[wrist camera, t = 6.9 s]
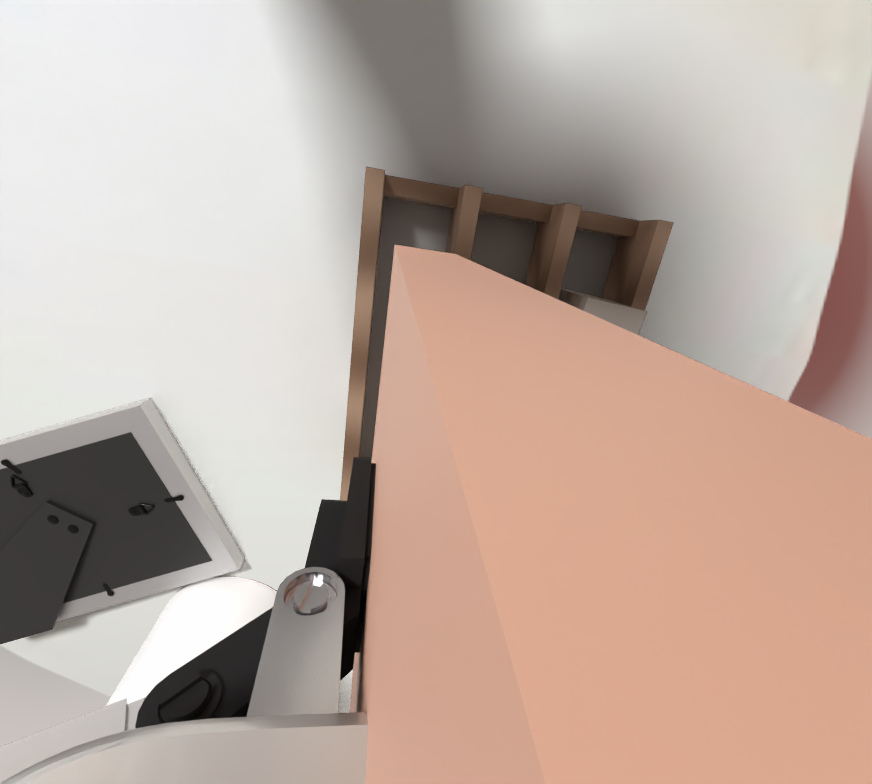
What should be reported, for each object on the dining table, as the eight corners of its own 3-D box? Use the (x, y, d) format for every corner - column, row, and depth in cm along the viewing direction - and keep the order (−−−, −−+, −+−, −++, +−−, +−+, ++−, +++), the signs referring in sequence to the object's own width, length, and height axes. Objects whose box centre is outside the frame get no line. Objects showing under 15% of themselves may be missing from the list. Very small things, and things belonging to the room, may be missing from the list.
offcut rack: (369, 176, 25) (365, 166, 22) (636, 223, 28) (673, 222, 25) (345, 474, 33) (339, 505, 29) (557, 488, 36) (576, 518, 32)
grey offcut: (550, 285, 29) (587, 297, 24) (599, 297, 30) (647, 311, 25) (504, 431, 33) (526, 470, 28) (548, 438, 34) (579, 478, 29)
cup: (154, 575, 35) (44, 736, 24) (294, 573, 36) (252, 724, 25) (173, 668, 39) (87, 842, 28) (298, 663, 41) (264, 826, 29)
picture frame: (21, 616, 36) (247, 551, 36) (-8, 646, 33) (236, 576, 33) (-117, 471, 30) (155, 393, 30) (-166, 494, 27) (133, 409, 27)
